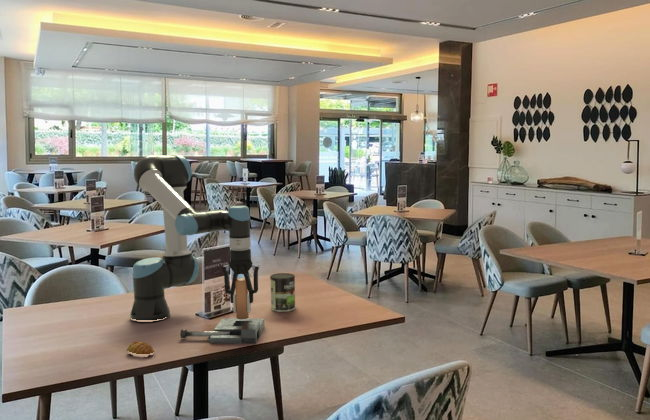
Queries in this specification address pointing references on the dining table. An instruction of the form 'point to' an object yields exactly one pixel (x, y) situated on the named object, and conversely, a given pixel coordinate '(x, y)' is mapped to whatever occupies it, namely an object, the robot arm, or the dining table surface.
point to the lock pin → (201, 333)
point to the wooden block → (241, 299)
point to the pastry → (140, 348)
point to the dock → (238, 330)
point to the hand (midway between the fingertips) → (242, 311)
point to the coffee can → (282, 292)
